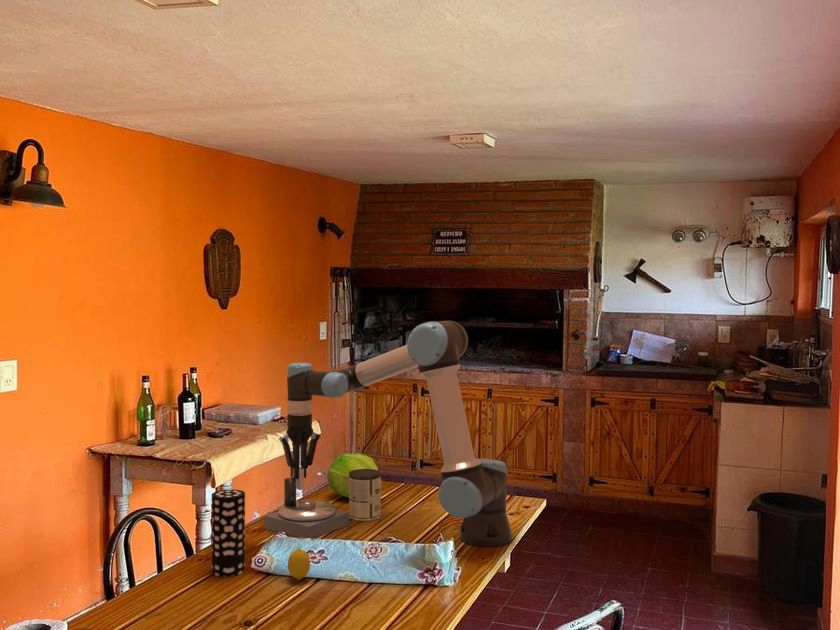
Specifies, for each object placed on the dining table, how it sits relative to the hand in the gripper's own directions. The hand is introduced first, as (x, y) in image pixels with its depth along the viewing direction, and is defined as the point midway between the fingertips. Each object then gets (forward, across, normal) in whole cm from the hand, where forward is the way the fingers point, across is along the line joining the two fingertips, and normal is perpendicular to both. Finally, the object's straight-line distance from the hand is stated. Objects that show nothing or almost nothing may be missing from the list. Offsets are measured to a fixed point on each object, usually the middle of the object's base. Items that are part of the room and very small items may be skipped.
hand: (300, 488), depth 249 cm
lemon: (+10, +20, +45) cm, 50 cm away
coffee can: (+11, -20, +6) cm, 23 cm away
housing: (+10, +1, +7) cm, 12 cm away
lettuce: (+11, -27, -15) cm, 33 cm away
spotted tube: (+10, +33, +30) cm, 46 cm away
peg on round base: (+6, +1, +7) cm, 9 cm away
